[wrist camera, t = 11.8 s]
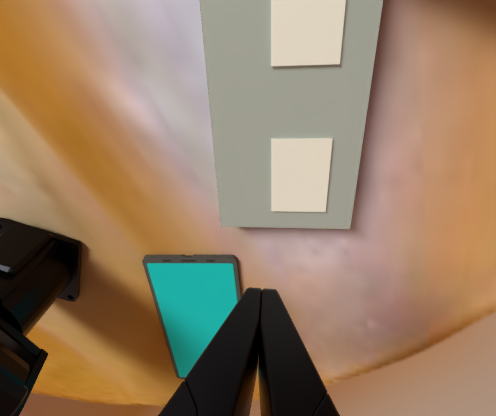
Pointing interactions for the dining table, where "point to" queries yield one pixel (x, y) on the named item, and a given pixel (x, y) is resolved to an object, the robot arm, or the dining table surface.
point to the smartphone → (192, 301)
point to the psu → (288, 107)
